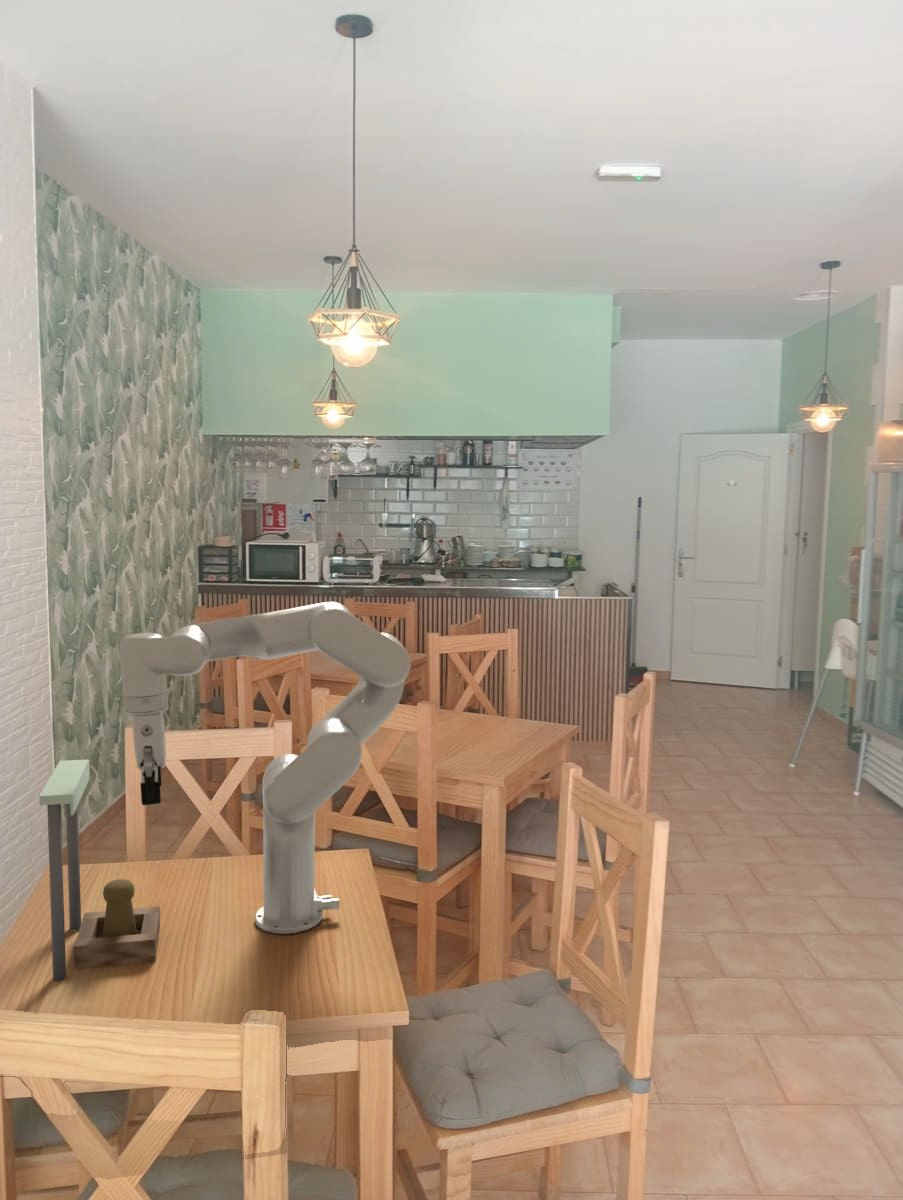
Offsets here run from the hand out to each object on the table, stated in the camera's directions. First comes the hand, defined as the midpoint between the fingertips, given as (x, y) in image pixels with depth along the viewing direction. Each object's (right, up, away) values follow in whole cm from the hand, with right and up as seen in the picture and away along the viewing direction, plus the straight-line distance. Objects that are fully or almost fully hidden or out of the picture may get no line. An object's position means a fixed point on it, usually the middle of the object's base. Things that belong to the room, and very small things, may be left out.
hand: (152, 795), depth 172 cm
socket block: (-4, -26, -4) cm, 27 cm away
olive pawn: (-4, -25, -4) cm, 26 cm away
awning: (-12, -26, -6) cm, 29 cm away
